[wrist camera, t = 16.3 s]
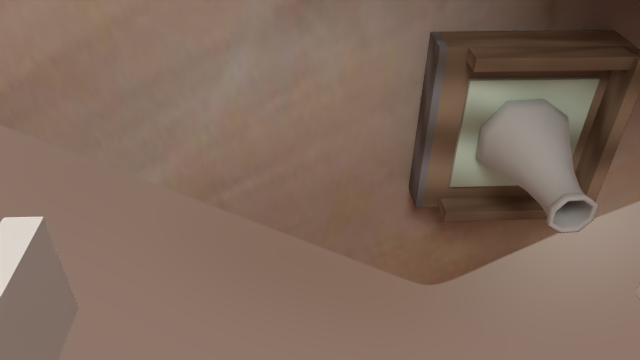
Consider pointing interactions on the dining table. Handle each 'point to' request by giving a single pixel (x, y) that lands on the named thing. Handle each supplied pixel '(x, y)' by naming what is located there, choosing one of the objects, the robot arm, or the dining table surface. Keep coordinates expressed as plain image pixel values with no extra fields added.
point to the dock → (511, 85)
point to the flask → (537, 160)
